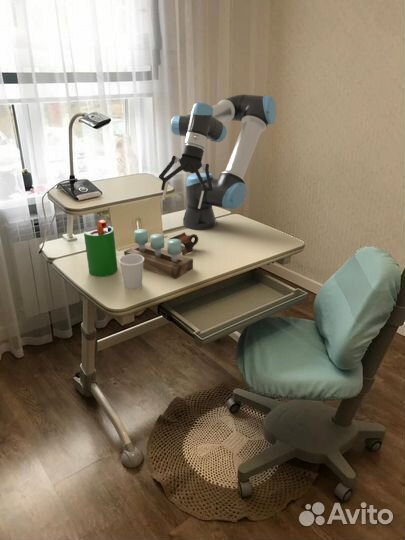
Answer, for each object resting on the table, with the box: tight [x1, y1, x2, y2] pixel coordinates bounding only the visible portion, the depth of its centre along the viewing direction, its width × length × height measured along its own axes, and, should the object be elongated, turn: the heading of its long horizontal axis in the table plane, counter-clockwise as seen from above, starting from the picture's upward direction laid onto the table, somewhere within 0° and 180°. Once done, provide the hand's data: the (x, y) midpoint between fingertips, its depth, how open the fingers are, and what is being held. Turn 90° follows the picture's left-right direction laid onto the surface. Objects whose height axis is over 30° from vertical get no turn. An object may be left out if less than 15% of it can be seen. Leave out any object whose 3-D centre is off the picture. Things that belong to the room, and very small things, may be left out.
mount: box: [123, 243, 194, 280], centre depth 161 cm, size 10×25×4 cm, turn 54°
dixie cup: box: [118, 254, 144, 291], centre depth 146 cm, size 8×8×10 cm
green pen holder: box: [83, 219, 119, 278], centre depth 153 cm, size 10×9×20 cm
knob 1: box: [133, 228, 149, 252], centre depth 163 cm, size 5×5×8 cm
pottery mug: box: [168, 231, 199, 256], centre depth 174 cm, size 12×10×8 cm
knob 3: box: [166, 238, 182, 263], centre depth 155 cm, size 5×5×8 cm
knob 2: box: [149, 233, 165, 258], centre depth 159 cm, size 5×5×8 cm
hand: (181, 204), depth 160 cm, fingers open, 13 cm apart
